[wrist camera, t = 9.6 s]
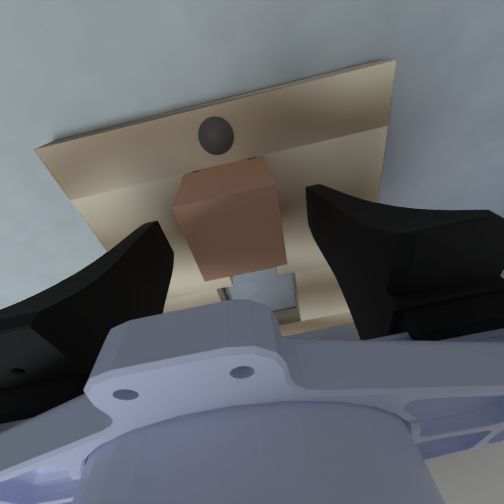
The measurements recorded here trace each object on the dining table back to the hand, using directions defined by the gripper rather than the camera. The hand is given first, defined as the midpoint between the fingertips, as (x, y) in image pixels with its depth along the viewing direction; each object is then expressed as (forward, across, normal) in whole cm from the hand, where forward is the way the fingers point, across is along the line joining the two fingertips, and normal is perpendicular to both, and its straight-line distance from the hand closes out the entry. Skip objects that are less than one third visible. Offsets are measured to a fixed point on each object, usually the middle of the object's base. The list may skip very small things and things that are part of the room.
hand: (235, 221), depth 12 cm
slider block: (+3, 0, 0) cm, 3 cm away
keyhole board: (+3, 0, +4) cm, 5 cm away
